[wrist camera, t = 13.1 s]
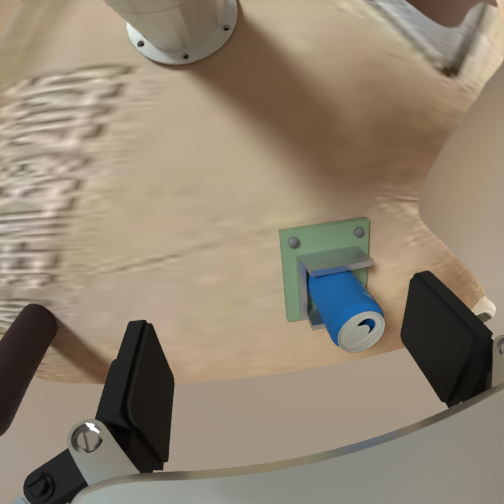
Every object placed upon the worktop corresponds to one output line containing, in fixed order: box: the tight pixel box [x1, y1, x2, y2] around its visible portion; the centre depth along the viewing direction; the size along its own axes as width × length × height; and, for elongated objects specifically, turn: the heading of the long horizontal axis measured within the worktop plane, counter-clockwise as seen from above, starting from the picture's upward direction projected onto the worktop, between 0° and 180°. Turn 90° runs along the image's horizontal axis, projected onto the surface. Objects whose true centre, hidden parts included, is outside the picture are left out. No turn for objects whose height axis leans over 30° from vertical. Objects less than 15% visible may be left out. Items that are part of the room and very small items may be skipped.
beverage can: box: [307, 270, 385, 353], centre depth 37 cm, size 6×6×12 cm
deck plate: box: [279, 217, 369, 322], centre depth 42 cm, size 14×12×1 cm
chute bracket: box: [296, 245, 373, 331], centre depth 40 cm, size 9×9×4 cm
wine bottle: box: [0, 304, 57, 436], centre depth 28 cm, size 7×7×30 cm
